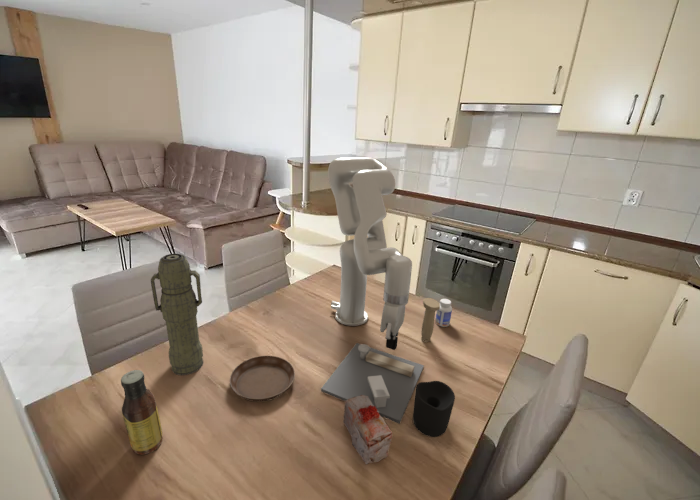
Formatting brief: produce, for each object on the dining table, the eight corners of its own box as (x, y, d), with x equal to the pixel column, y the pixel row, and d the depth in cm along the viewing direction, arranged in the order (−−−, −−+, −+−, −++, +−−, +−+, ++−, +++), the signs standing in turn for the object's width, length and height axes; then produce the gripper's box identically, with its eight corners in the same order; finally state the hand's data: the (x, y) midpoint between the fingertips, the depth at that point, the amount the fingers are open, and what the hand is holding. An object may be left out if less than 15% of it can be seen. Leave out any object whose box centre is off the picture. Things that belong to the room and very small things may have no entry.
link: (365, 361, 107) (365, 356, 106) (369, 355, 109) (369, 350, 109) (410, 377, 101) (411, 372, 101) (413, 371, 104) (414, 366, 103)
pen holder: (418, 403, 94) (423, 374, 90) (452, 419, 89) (459, 388, 86) (405, 427, 86) (410, 396, 82) (442, 446, 82) (448, 414, 78)
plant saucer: (272, 355, 109) (272, 347, 108) (307, 385, 98) (307, 377, 97) (219, 381, 98) (218, 372, 97) (251, 419, 86) (250, 410, 85)
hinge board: (320, 391, 96) (321, 377, 94) (356, 345, 116) (357, 333, 114) (399, 424, 87) (401, 409, 85) (423, 367, 107) (425, 355, 106)
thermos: (211, 368, 102) (199, 259, 89) (166, 380, 96) (146, 266, 84) (207, 351, 109) (195, 248, 96) (165, 361, 104) (147, 253, 91)
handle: (427, 333, 125) (432, 297, 119) (436, 344, 119) (442, 306, 114) (415, 335, 123) (420, 298, 118) (424, 346, 118) (430, 308, 112)
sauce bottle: (140, 433, 80) (125, 363, 73) (168, 432, 81) (155, 363, 74) (125, 458, 74) (107, 386, 67) (155, 457, 75) (141, 385, 68)
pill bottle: (450, 321, 133) (454, 299, 130) (448, 328, 129) (452, 306, 125) (436, 318, 135) (440, 296, 132) (433, 324, 131) (437, 302, 127)
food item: (394, 459, 78) (399, 426, 74) (364, 473, 74) (367, 439, 71) (365, 415, 89) (368, 384, 86) (337, 425, 86) (339, 394, 82)
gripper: (392, 284, 112) (387, 333, 118) (375, 303, 99) (371, 357, 105) (414, 289, 109) (409, 339, 115) (400, 309, 96) (395, 364, 102)
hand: (391, 347), depth 110 cm, fingers closed
